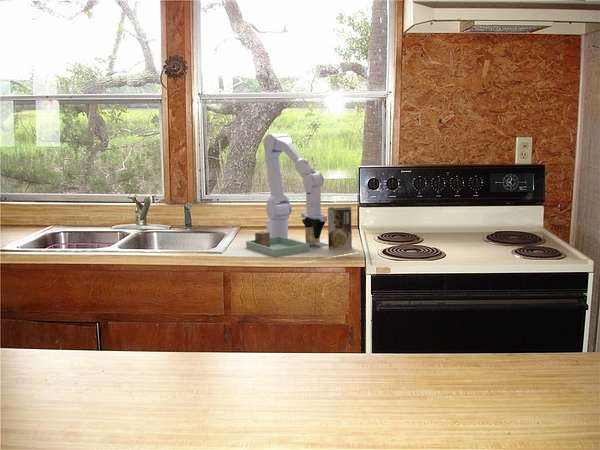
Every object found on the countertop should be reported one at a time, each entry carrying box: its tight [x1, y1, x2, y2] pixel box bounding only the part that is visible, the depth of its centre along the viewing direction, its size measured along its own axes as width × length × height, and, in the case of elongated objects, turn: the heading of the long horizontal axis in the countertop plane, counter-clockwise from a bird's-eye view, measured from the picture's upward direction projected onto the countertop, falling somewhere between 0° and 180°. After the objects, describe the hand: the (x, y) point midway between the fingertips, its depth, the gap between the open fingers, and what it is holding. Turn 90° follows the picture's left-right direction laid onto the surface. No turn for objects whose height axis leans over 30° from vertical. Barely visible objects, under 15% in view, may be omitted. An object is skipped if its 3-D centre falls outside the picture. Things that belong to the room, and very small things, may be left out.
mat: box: [307, 241, 328, 249], centre depth 257 cm, size 10×10×1 cm
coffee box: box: [327, 206, 353, 250], centre depth 250 cm, size 9×6×16 cm
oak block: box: [304, 226, 321, 244], centre depth 256 cm, size 4×4×6 cm
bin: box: [245, 236, 311, 258], centre depth 249 cm, size 20×16×3 cm
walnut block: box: [254, 230, 270, 247], centre depth 252 cm, size 4×4×6 cm
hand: (313, 237), depth 256 cm, fingers closed on oak block, 4 cm apart
